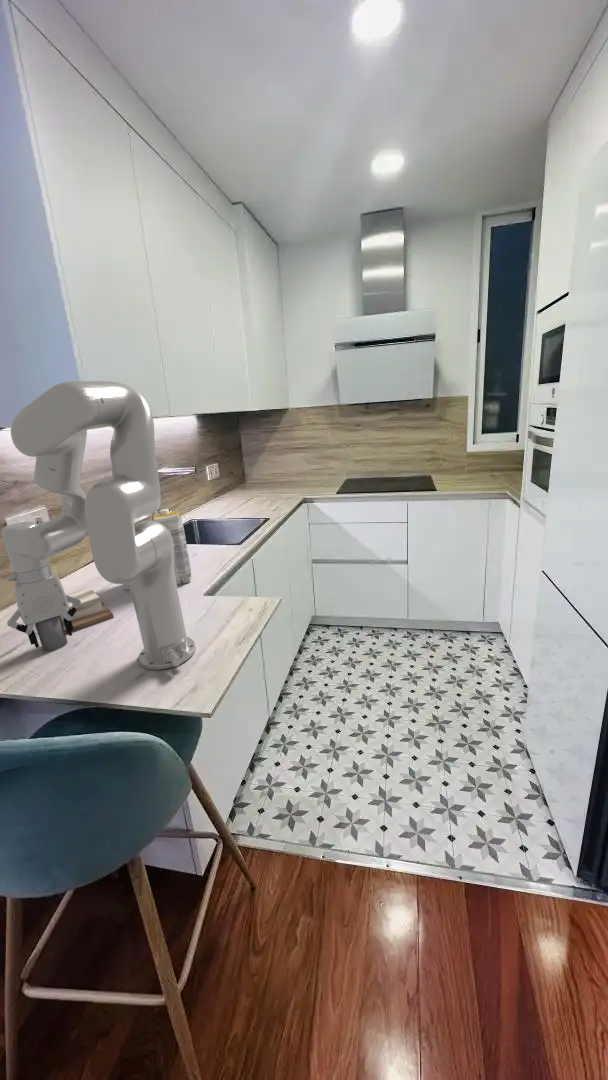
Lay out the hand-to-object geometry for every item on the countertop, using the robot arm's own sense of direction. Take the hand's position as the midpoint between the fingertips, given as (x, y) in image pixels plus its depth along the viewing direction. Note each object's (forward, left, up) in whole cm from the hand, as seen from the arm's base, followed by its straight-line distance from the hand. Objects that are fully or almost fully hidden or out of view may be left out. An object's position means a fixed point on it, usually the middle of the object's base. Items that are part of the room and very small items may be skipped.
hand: (53, 639), depth 110 cm
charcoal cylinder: (0, 0, -2) cm, 2 cm away
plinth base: (+13, -9, -2) cm, 16 cm away
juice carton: (+14, -39, -2) cm, 41 cm away
